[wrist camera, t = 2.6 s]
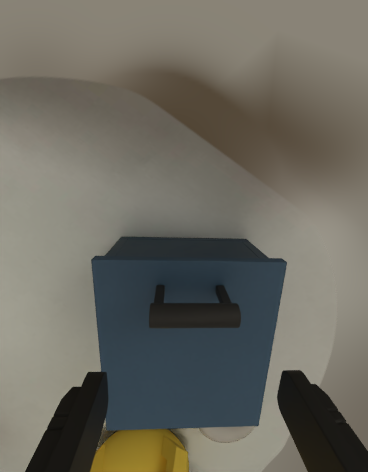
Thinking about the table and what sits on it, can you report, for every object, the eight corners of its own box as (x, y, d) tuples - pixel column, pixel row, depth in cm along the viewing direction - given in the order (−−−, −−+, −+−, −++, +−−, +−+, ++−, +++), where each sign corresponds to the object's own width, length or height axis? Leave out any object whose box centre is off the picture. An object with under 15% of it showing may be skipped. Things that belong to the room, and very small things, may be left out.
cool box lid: (95, 255, 18) (63, 287, 13) (282, 258, 19) (323, 289, 13) (108, 421, 23) (90, 492, 18) (255, 417, 24) (278, 483, 18)
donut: (203, 372, 33) (186, 419, 36) (207, 394, 30) (188, 444, 32) (262, 383, 34) (242, 428, 37) (272, 405, 31) (249, 453, 33)
